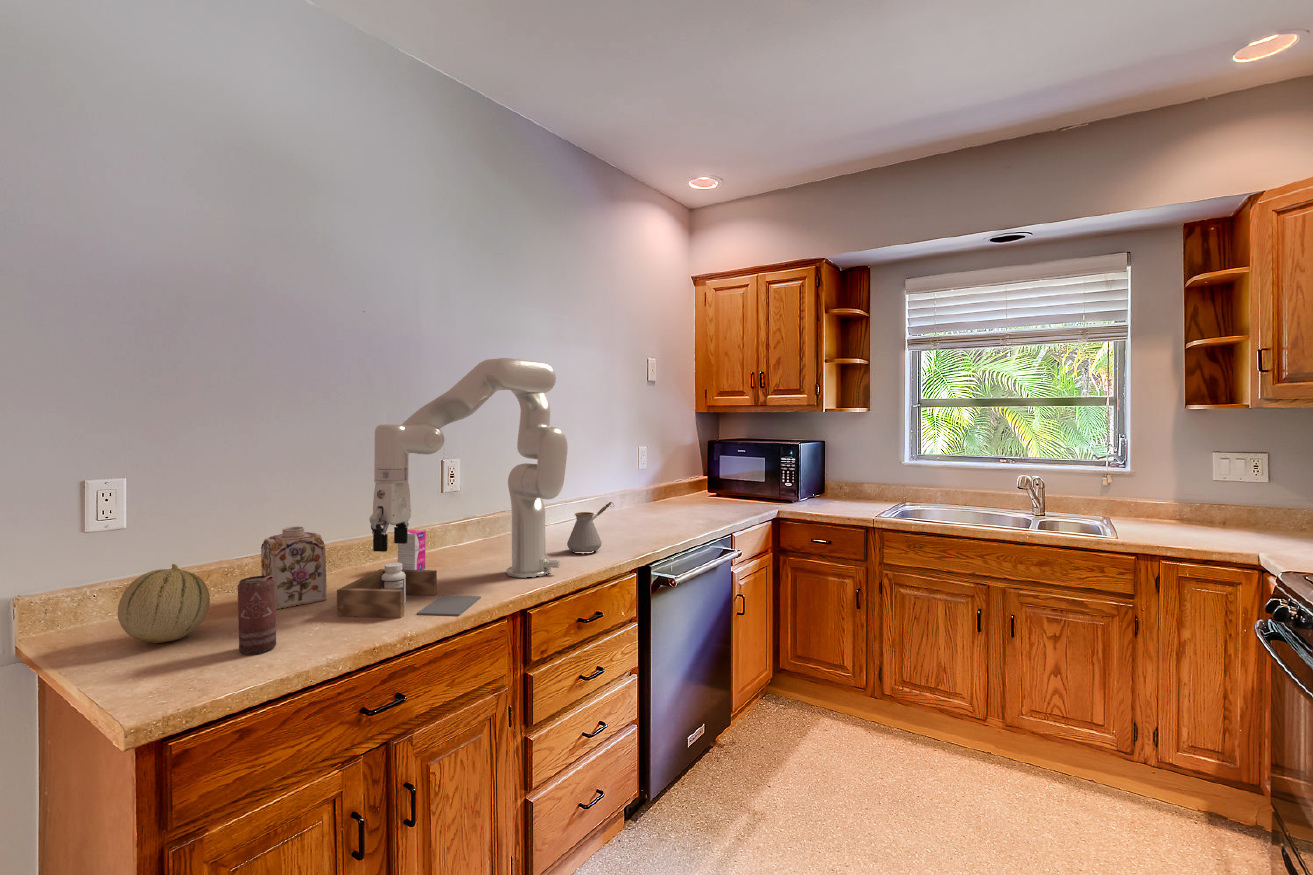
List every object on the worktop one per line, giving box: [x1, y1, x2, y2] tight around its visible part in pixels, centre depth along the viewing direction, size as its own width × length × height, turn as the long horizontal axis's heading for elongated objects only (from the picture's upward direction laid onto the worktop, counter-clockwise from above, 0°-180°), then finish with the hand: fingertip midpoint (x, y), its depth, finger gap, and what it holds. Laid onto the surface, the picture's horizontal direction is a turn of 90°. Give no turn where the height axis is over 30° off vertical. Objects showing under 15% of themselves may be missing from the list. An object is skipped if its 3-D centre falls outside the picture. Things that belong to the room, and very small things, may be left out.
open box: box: [336, 568, 438, 619], centre depth 152 cm, size 15×19×6 cm
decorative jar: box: [260, 525, 327, 611], centre depth 154 cm, size 12×12×18 cm
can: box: [237, 575, 277, 656], centre depth 122 cm, size 6×6×14 cm
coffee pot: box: [566, 501, 615, 552], centre depth 213 cm, size 21×12×15 cm, turn 148°
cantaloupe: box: [117, 563, 211, 644], centre depth 127 cm, size 15×15×15 cm
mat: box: [416, 594, 482, 617], centre depth 150 cm, size 10×14×1 cm
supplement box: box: [397, 529, 427, 570], centre depth 184 cm, size 6×6×12 cm
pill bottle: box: [381, 562, 407, 605], centre depth 151 cm, size 5×5×10 cm
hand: (390, 547), depth 151 cm, fingers open, 9 cm apart
